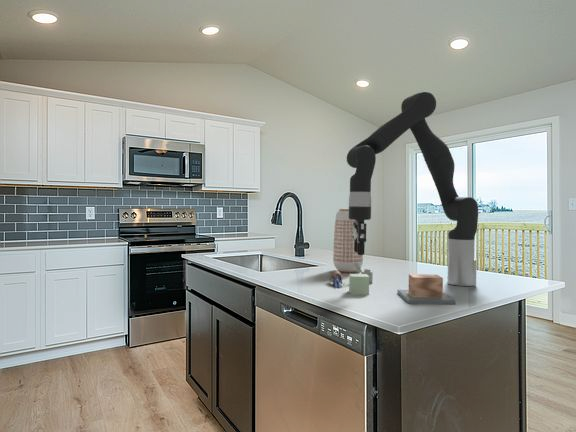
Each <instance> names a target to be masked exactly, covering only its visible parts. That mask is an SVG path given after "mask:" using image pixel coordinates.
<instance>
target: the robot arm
mask: <svg viewBox="0 0 576 432" xmlns="http://www.w3.org/2000/svg"><path fill="white" fill-rule="evenodd" d="M436 100H437V98H436V97H435V96H434V94H433V93H432V92H430V91H424V90H423V91H419V92H417V93H415V94H413V95H410V96H408V97H406V98H405V99H403V101H402V102H401V106H400V108H401V109H400V110H401V112H400V113H398V115H396V116H394V117H393V118H391V119H390V120H388V121H387V122H385V123H384V124H382V125H381V126H379V127H378V128H377V129H376V130H375V131H374V132H372V133H371V134H370V135H369V136H368V137H367V138H365V139H363V140H362V141H360V142H359V143H357V144H356V145H354V146H353V147H352V148H351V149H350V150H349V151H348V153H347V155H346V163H347V164H348V165H349V167H351V168H353V169H355V173H353V175H352V176H351V177H350V178H349V196H348V209H349V219H352V220H355V222H354V223H353V224H354V225H353V239H354V251H355V252H357V254H358V255H363V256H364V255H365V245H366V242H367V223H365V221H370V220H371V219H372V193H371V192H372V177H373V175H374V170H375V166H376V158H377V156H376V155H377V154H380V153H381V154H382V152H384V151H385V150H386V149H387V148H388V147H390V146H391V145H392V144H393V143H394V142H395V141H396V140H397V139H398V138H400V137H401V136H402V135H404V133H405V132H407V131H408V130H409V129H410V131H411V133H412V135H413V137H414V138H415V140H416V143H417V146H418V147H419V150H420V151H421V154H422V157H423V159H424V162H425V164H426V167H427V168H428V171H429V173H430V175H431V177H432V181H433V182H434V186H435V188H436V190H437V193H438V196H439V197H438V198H439V200H440V203H441V207H442V209H443V212H444V215H445V216H446V217H447V218H448V219H449V220H451V221H455V222H456V226H455V227H454V228H453V229H451V230H449V231H448V235H447V238H448V239H447V277H446V278H447V284H448V285H452V286H459V287H460V286H462V287H473V286H476V285H477V263H478V262H477V259H475V243H476V242H475V237H476V234H477V231H478V222H479V221H478V220H479V205H478V202H477V201H476V199H475V198H473V197H471V196H459V194H458V193H457V191H456V188H455V186H454V185H455V184H454V174H455V161H454V158H453V156H452V153H451V150H450V149H449V147H448V145H447V143H445V142H444V140H443V139H441V138H440V137H439V136H437V134H435V133H434V131H433V130H432V129H431V128H430V126H429V124H428V121H427V120H426V118H429V116H432V114H434V113H435V110H436V108H437V101H436Z"/></svg>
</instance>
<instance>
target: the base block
mask: <svg viewBox="0 0 576 432" xmlns="http://www.w3.org/2000/svg"><path fill="white" fill-rule="evenodd" d="M408 290H409V293H410V294H411V295H412V296H413V297H443V293H444V277H442V276H440V275H438V274H426V273H424V274H422V273H421V274H420V273H409V274H408Z"/></svg>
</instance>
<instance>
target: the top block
mask: <svg viewBox="0 0 576 432" xmlns="http://www.w3.org/2000/svg"><path fill="white" fill-rule="evenodd" d="M348 274H349V276H348V277H349V281H348V282H349V283H348V285H349V287H348V292H349V294H350V295H370V283H369V276H368V275H367V274H361V273H348Z"/></svg>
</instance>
